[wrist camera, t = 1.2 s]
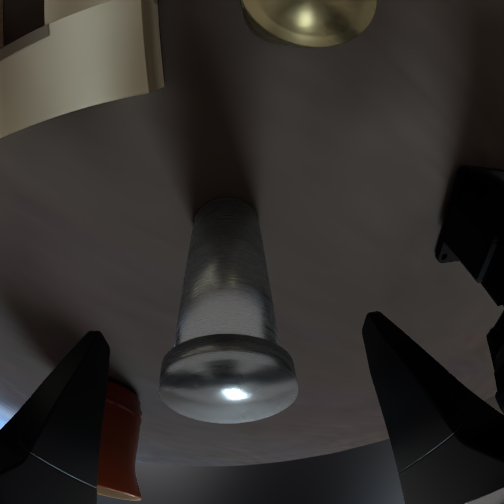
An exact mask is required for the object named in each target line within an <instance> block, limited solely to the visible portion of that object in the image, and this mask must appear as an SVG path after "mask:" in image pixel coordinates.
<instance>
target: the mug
mask: <svg viewBox="0 0 504 504" xmlns="http://www.w3.org/2000/svg"><path fill="white" fill-rule="evenodd" d="M141 415H142V412H141V408H140V401H139V399H138V398H137V397H136V395H135V394H134V393H133V392H132V391H131V390H129V389H128V388H127V387H125V386H123V385H122V384H120V383H118V382H115V381H113V380H110V379H108V386H107V395H106V402H105V408H104V416H103V424H102V432H101V441H100V452H99V464H98V479H97V494H100V495H103V496H108V497H112V498H118V499H124V500H133V501H139V500H142V497H141V493H140V489H139V486H138V482H137V477H136V468H135V463H136V453H137V447H138V440H139V432H140V425H141Z"/></svg>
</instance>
